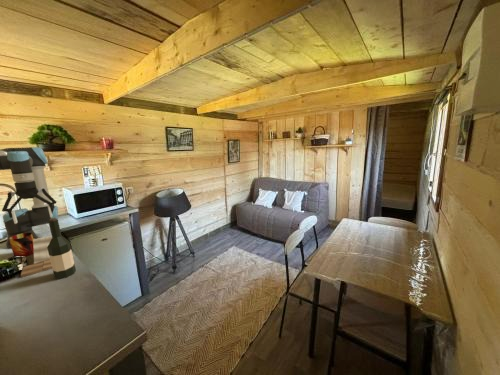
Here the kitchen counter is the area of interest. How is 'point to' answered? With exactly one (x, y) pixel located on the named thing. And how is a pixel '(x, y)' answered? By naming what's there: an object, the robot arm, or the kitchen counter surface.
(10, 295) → the kitchen counter surface
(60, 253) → the wine bottle
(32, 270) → the floorboard
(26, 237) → the mug
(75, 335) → the kitchen counter surface
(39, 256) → the plank
